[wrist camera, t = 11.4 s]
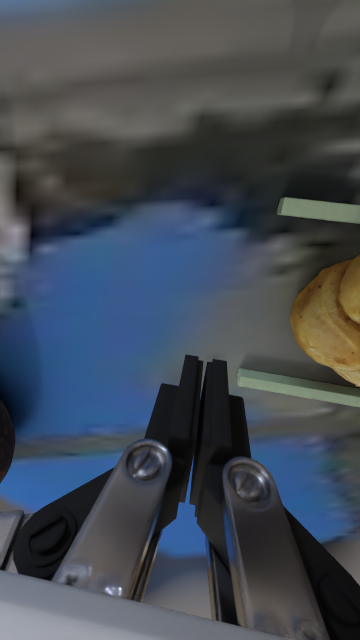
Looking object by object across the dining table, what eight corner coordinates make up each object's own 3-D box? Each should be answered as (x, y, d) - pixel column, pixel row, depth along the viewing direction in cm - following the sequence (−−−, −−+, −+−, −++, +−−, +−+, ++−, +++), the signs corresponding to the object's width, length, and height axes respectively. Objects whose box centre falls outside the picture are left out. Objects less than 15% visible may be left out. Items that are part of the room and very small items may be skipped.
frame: (280, 198, 20) (284, 196, 19) (519, 224, 18) (543, 225, 17) (236, 377, 27) (237, 385, 26) (406, 406, 26) (417, 417, 24)
